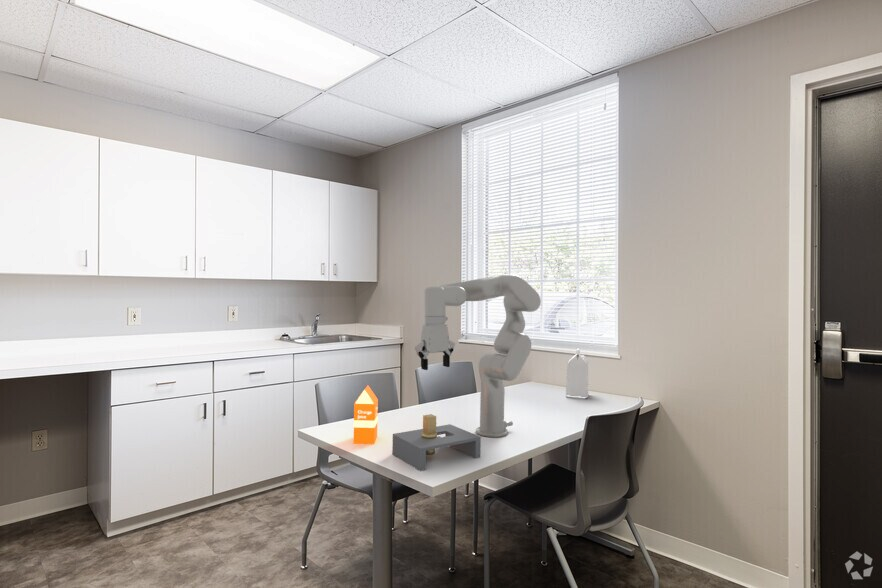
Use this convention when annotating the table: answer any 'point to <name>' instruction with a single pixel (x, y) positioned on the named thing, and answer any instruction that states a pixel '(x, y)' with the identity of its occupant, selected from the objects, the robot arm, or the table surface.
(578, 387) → the milk
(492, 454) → the table surface
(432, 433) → the brass peg
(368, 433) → the orange juice
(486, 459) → the table surface
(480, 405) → the robot arm
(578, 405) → the table surface
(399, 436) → the keyhole board
